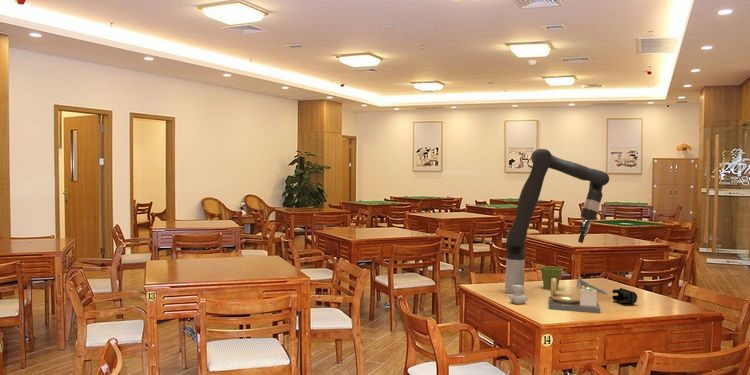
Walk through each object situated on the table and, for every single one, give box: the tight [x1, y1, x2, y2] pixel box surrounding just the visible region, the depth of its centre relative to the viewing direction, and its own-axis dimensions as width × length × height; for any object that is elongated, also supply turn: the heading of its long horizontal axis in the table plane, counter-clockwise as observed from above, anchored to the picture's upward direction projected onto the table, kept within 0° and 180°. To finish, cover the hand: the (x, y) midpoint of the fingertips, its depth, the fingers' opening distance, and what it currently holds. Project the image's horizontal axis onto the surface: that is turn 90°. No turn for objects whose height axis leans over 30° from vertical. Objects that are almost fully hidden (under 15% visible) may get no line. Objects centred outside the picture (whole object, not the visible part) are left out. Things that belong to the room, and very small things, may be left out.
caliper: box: [576, 276, 609, 295], centre depth 337 cm, size 20×1×6 cm, turn 31°
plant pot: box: [539, 265, 564, 291], centre depth 340 cm, size 12×12×11 cm
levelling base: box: [548, 286, 601, 314], centre depth 295 cm, size 22×20×10 cm
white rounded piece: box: [508, 285, 529, 305], centre depth 300 cm, size 9×7×8 cm
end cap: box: [612, 287, 638, 307], centre depth 305 cm, size 10×7×7 cm
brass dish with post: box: [550, 278, 580, 303], centre depth 299 cm, size 13×13×10 cm
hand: (580, 242), depth 320 cm, fingers closed
